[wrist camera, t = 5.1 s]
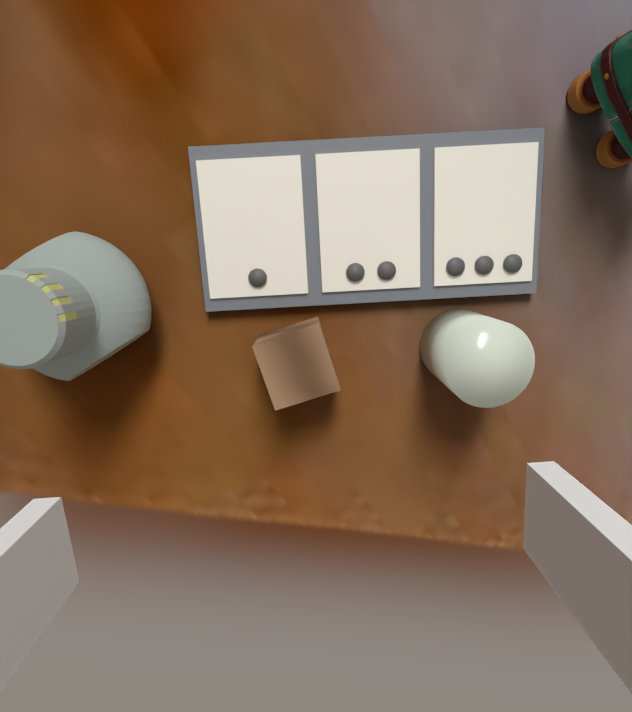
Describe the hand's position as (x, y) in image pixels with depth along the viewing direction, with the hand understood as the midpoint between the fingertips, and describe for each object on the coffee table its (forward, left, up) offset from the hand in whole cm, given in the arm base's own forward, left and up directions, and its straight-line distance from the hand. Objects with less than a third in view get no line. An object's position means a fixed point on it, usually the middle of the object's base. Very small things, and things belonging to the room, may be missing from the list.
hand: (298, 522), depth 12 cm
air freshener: (-17, +5, -25) cm, 30 cm away
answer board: (+5, +10, -24) cm, 27 cm away
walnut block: (-1, 0, -24) cm, 24 cm away
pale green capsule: (+12, 0, -24) cm, 27 cm away
